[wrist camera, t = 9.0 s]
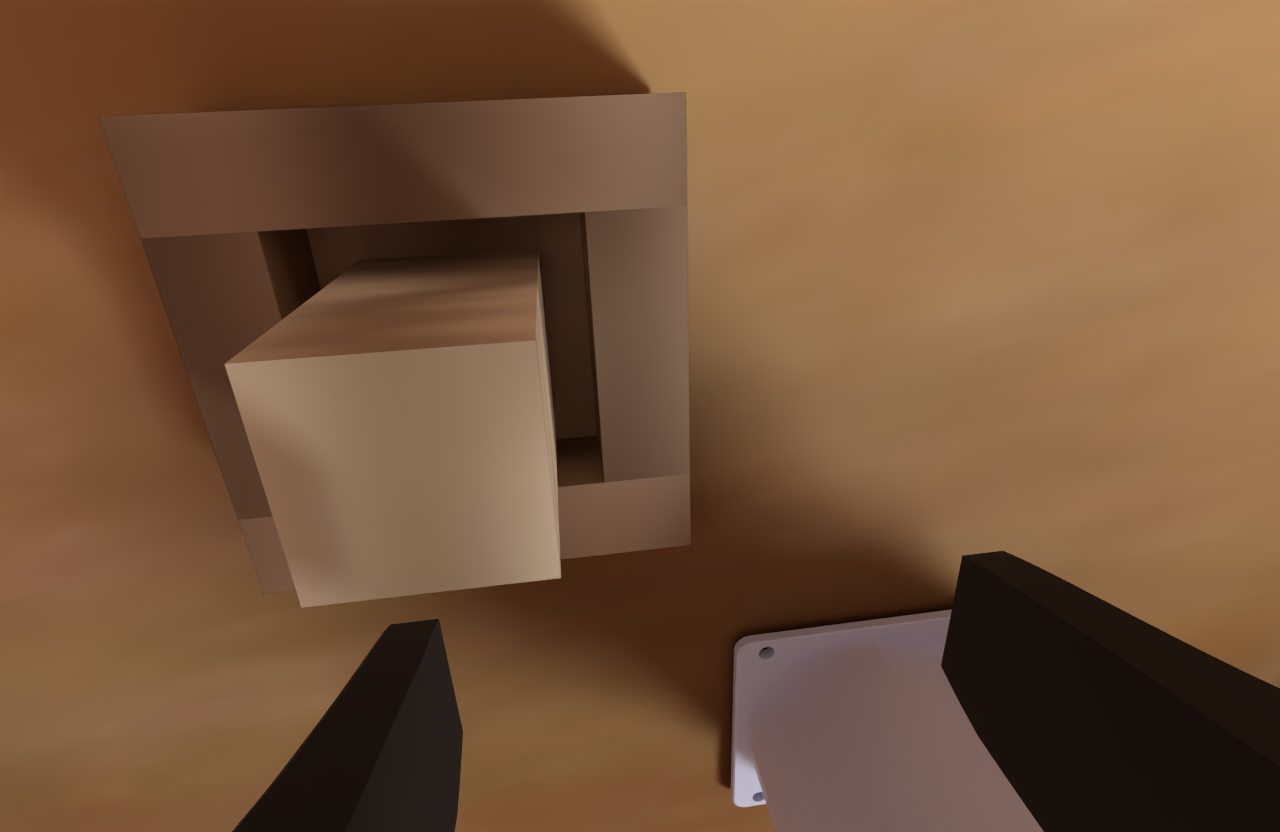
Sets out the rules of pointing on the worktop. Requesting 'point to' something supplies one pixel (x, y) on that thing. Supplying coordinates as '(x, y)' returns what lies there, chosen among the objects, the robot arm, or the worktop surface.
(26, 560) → the worktop surface
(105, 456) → the worktop surface
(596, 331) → the walnut holder
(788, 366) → the worktop surface
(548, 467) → the birch post
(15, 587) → the worktop surface
